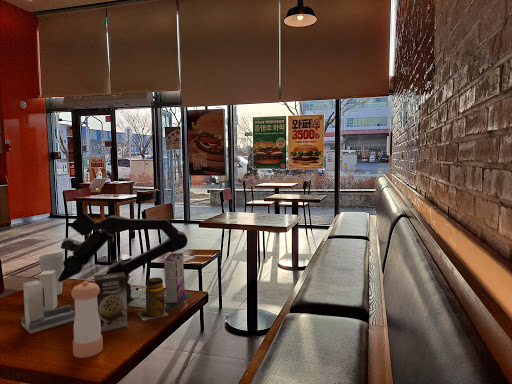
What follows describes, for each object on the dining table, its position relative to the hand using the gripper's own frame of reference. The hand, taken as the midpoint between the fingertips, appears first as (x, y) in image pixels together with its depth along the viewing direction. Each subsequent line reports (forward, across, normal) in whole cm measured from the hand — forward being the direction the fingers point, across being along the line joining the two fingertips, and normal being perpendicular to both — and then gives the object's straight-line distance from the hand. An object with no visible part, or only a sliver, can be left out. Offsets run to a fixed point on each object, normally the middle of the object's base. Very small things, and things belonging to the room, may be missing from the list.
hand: (62, 277), depth 128 cm
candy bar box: (-19, +2, +36) cm, 41 cm away
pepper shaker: (-3, +36, +19) cm, 41 cm away
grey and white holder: (+8, +13, +7) cm, 17 cm away
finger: (+11, 0, +4) cm, 12 cm away
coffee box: (-5, +21, +22) cm, 31 cm away
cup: (+14, -16, +2) cm, 21 cm away
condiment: (-13, +16, +31) cm, 37 cm away
